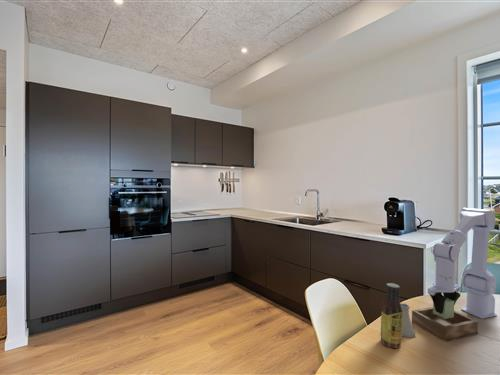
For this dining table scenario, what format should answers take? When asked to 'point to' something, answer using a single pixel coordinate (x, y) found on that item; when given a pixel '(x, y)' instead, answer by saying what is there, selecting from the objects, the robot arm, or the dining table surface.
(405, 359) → the dining table surface
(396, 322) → the sauce bottle
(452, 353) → the dining table surface
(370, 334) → the dining table surface
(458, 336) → the walnut crate
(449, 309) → the green block
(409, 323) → the flask
